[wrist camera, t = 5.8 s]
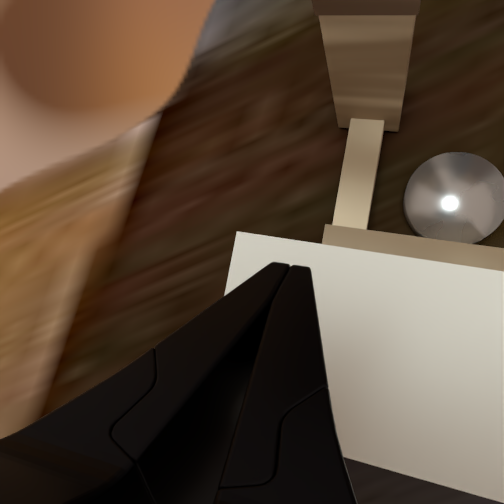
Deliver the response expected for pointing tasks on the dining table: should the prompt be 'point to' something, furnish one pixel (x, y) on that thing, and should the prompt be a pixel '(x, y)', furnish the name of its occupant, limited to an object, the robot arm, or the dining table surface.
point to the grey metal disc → (455, 198)
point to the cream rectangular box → (405, 357)
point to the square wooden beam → (376, 122)
